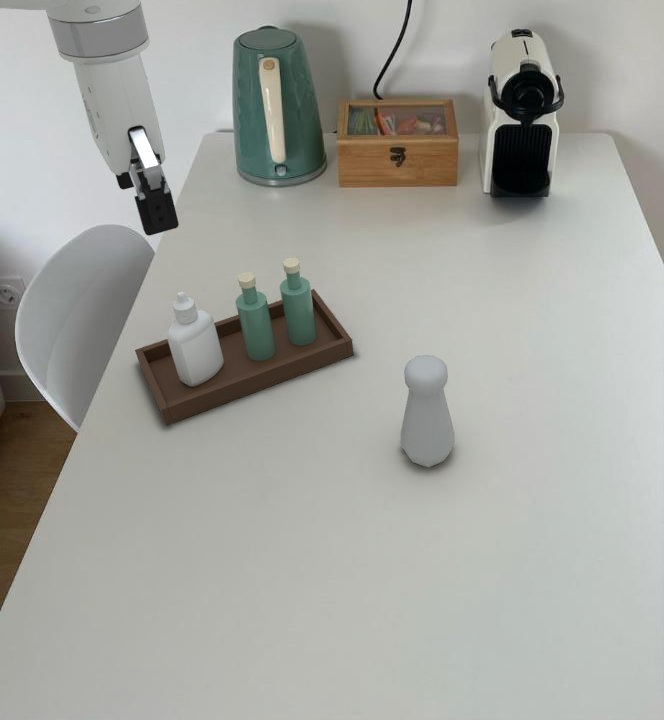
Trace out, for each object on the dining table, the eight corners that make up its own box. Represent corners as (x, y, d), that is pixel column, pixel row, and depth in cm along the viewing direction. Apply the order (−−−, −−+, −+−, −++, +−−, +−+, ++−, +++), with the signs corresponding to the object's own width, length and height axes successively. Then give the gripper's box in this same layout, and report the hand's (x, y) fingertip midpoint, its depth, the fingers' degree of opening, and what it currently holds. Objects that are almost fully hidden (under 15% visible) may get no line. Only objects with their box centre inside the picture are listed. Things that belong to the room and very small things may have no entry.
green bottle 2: (294, 349, 100) (282, 275, 92) (284, 333, 102) (270, 258, 94) (321, 339, 101) (311, 265, 93) (310, 323, 103) (299, 249, 96)
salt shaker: (430, 424, 91) (429, 337, 82) (465, 454, 87) (468, 366, 78) (390, 450, 88) (384, 363, 79) (424, 482, 85) (422, 394, 76)
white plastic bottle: (230, 376, 97) (210, 297, 88) (183, 391, 95) (159, 312, 87) (221, 354, 100) (201, 276, 91) (175, 368, 98) (151, 289, 90)
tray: (166, 425, 92) (160, 409, 90) (140, 365, 100) (134, 349, 98) (353, 355, 100) (352, 339, 98) (316, 304, 107) (314, 288, 105)
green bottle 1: (252, 364, 98) (236, 290, 90) (242, 347, 100) (225, 273, 93) (280, 354, 99) (266, 280, 91) (269, 338, 102) (255, 263, 94)
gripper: (36, 8, 73) (90, 179, 84) (76, 74, 61) (132, 262, 73) (119, -7, 75) (161, 160, 87) (173, 54, 64) (213, 238, 75)
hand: (148, 206), depth 80 cm, fingers open, 9 cm apart
